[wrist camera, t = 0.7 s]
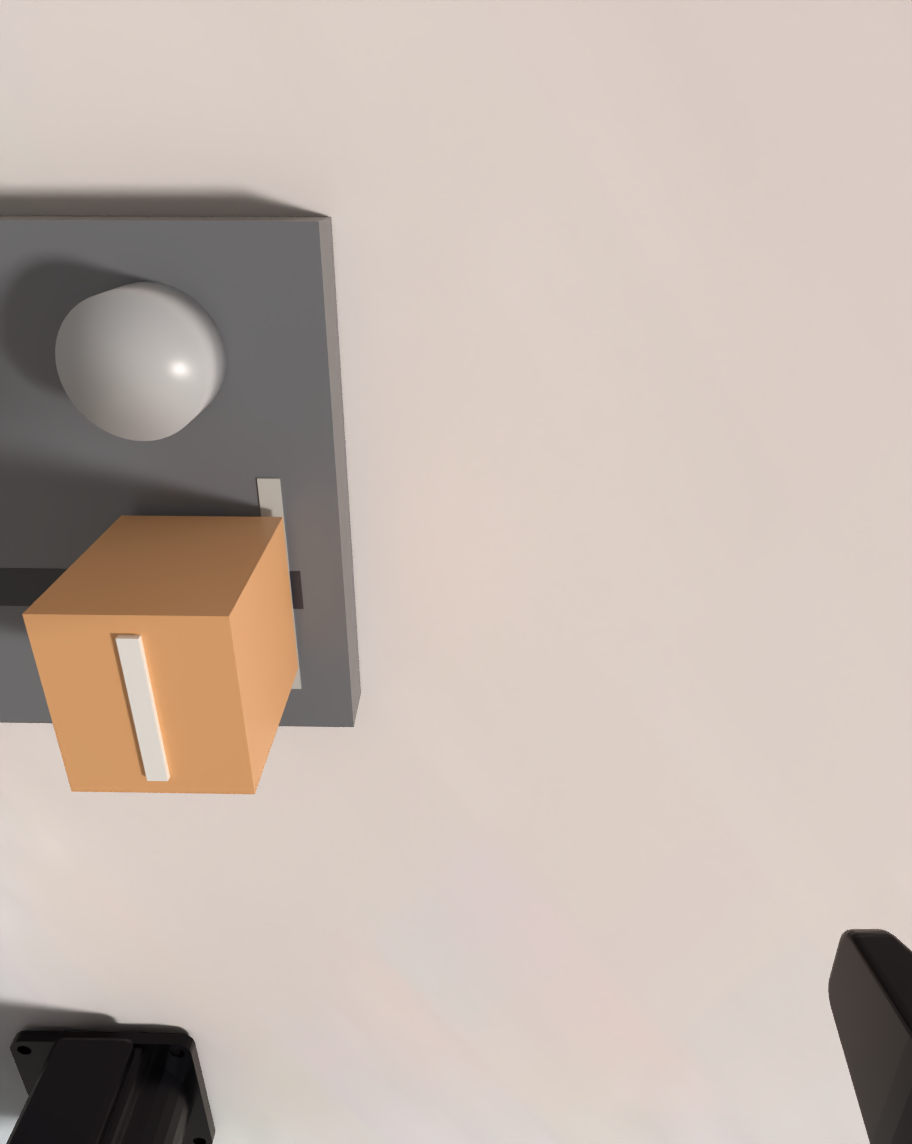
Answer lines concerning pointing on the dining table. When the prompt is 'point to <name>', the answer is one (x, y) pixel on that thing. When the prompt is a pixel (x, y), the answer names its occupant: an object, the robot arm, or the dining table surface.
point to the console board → (198, 456)
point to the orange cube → (169, 654)
